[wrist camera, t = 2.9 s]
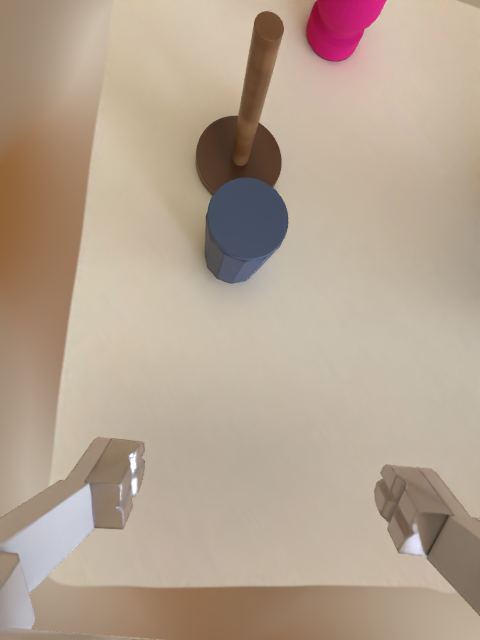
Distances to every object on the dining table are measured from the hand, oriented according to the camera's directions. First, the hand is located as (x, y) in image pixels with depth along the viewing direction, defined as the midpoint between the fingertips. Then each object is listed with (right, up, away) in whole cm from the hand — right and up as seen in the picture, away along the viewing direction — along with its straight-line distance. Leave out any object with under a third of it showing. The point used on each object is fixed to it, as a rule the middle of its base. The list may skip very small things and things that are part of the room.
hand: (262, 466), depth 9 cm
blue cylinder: (-2, +12, +20) cm, 23 cm away
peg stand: (-1, +22, +20) cm, 30 cm away
